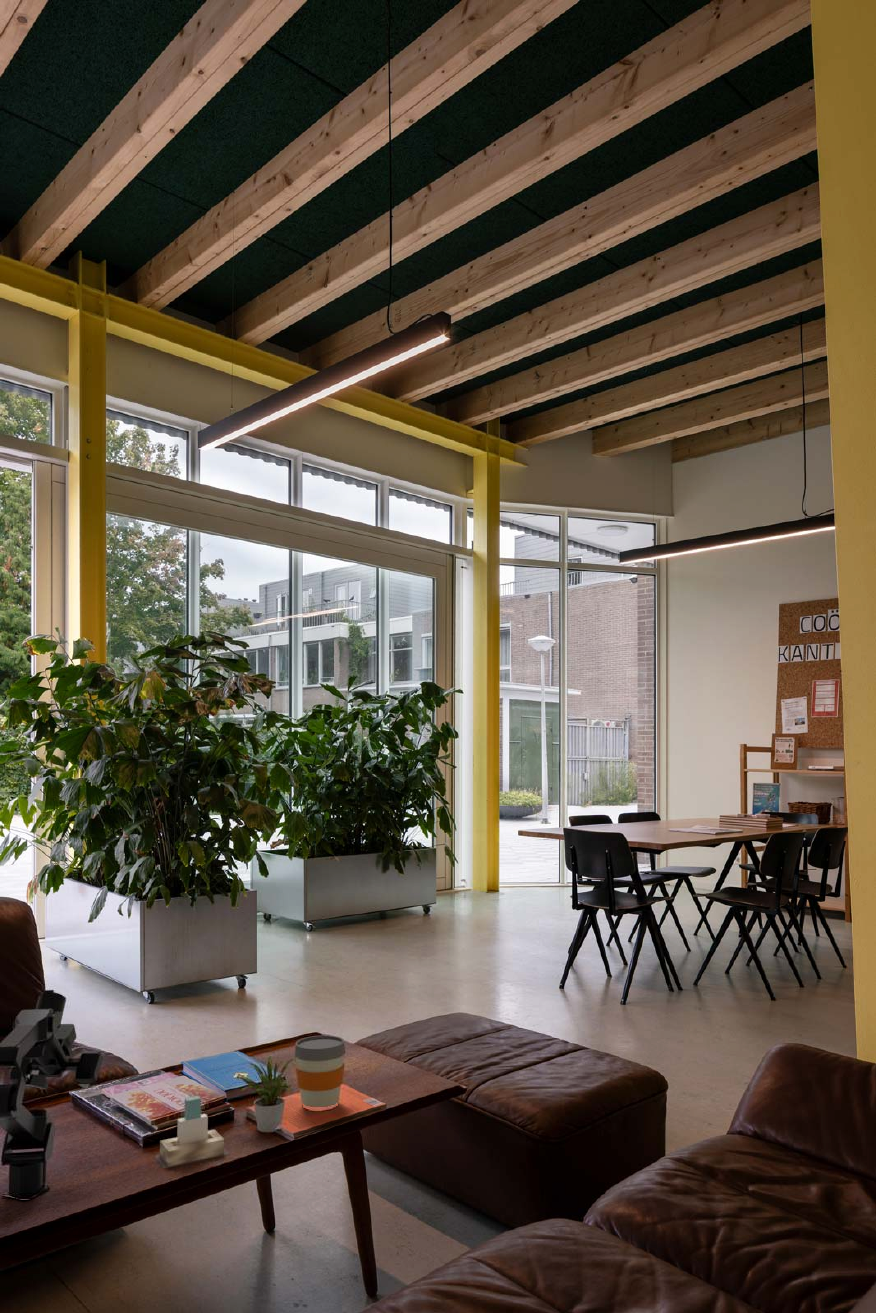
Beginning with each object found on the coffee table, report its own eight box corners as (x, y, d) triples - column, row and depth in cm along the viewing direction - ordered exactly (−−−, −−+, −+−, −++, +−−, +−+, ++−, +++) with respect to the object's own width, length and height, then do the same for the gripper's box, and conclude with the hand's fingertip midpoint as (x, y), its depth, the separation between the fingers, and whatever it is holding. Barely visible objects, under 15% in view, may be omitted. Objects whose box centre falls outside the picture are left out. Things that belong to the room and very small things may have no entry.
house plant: (280, 1112, 234) (280, 1042, 236) (315, 1126, 224) (314, 1053, 226) (229, 1128, 224) (229, 1055, 226) (263, 1143, 214) (263, 1067, 216)
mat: (164, 1170, 201) (164, 1168, 201) (154, 1157, 208) (154, 1155, 208) (229, 1155, 208) (229, 1153, 208) (218, 1143, 215) (218, 1141, 215)
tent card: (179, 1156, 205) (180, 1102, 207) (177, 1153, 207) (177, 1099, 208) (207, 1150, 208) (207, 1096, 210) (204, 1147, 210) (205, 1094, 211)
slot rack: (168, 1166, 202) (168, 1151, 202) (159, 1155, 208) (160, 1140, 208) (224, 1153, 208) (224, 1139, 208) (214, 1143, 214) (214, 1129, 214)
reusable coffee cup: (332, 1116, 230) (331, 1050, 232) (285, 1111, 234) (285, 1046, 236) (354, 1099, 242) (353, 1037, 244) (309, 1094, 246) (309, 1033, 248)
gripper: (100, 1014, 210) (118, 1052, 220) (16, 1015, 211) (38, 1052, 220) (84, 1062, 201) (104, 1100, 211) (-3, 1063, 202) (21, 1100, 212)
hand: (67, 1086), depth 214 cm, fingers open, 9 cm apart
